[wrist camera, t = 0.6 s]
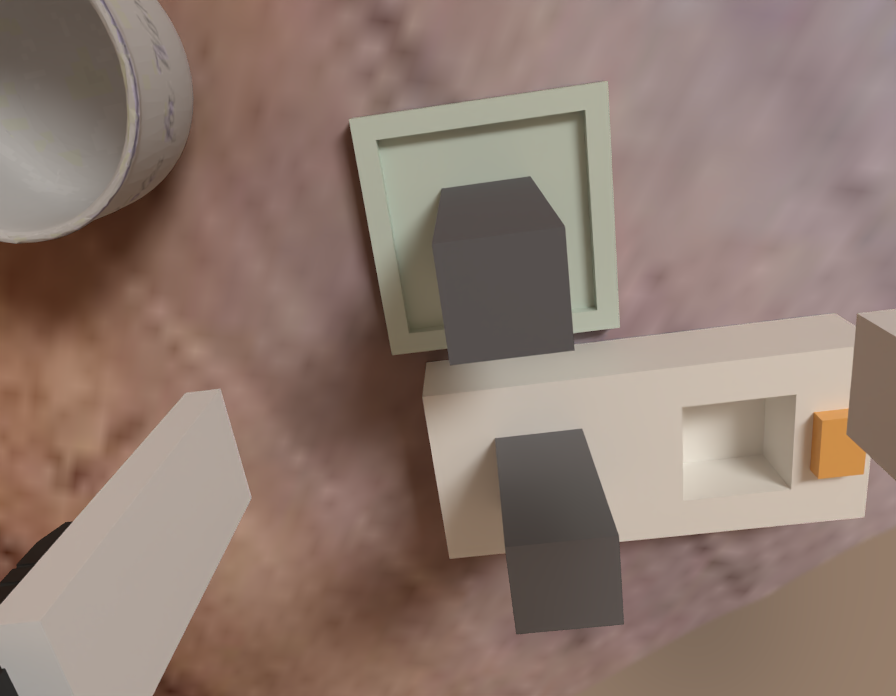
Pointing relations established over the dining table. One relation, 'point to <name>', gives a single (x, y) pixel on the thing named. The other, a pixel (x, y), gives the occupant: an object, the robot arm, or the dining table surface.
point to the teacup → (86, 111)
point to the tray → (478, 161)
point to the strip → (639, 452)
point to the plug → (501, 272)
